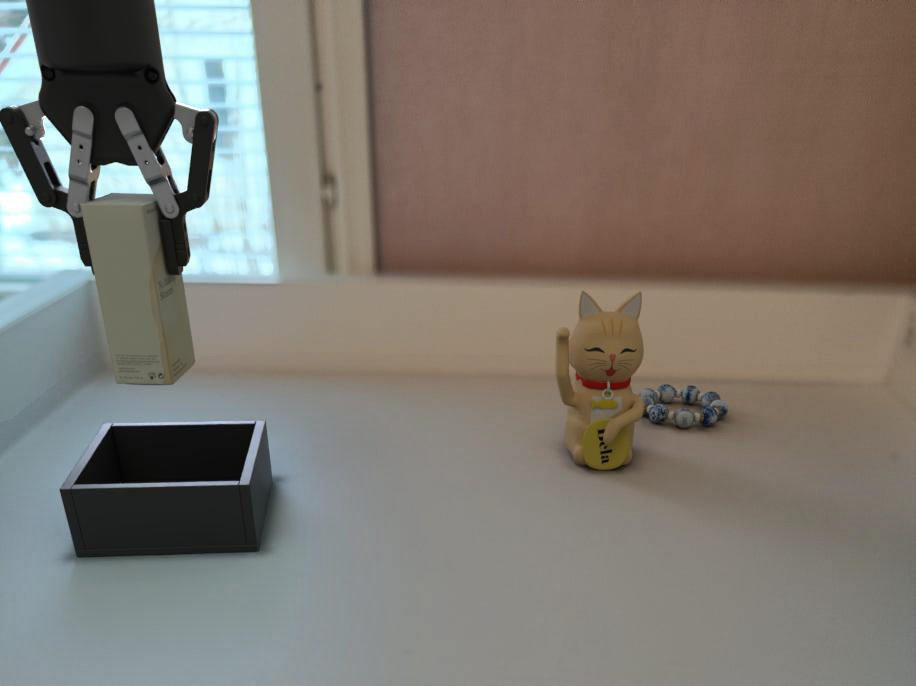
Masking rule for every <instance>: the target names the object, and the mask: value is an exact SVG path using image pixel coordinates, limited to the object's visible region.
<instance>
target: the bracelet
mask: <svg viewBox="0 0 916 686" xmlns="http://www.w3.org/2000/svg"><path fill="white" fill-rule="evenodd" d="M638 395H639V396H641V397H642V399H643V400H644V412H643V416H647V415H648V417H649V420H650V421H651V422H653V423H655V424H662V423H665V422H666V421H667V420H668V421H671V422H672V421H674V423H675V425H676V426H677V427H678V428H681V429H687V428H689V427H691V425H692V424H693V423H694V422H695V423H699V424H701V425H702V426H703V427H710V426H713V425H714V424H716V422H717V421H718V420H721V419H723V418H725V416H727V414H728V411H729V406H728V404H727V402H726V401H725V400H722V399H721V396H720V394H719V393H717V392H716V391H708V392H705V393H703V392H701V391H700V390H699V388H698V387H697V386H695V385H686V386H684V387H683V388H682V390H681V389H679V388H677V389H676V388H675V387H674V386H673V385H671V384H667V383H663V384H661V385H659V386H658V388H657V389H656V390H654V389H653V388H651V387H646V388H644V389H642V390H641V391H640V392H639V394H638ZM675 398H676V399H679V398H681V400H682V402H684V403H685V404H688V405H693V404H695V403H697V402H700V403H701V406H702V408H701V409H700V410H699V411H698V412H693V410H691V409H690V408H688V407H682V408H680V409H678V410H676V411H673V410H671V411H670V409H669V408H668V407H667V406H666V405H665V404H667V403H670V402H672V401H673V400H674V399H675ZM657 400H658V401H659V402H661V403H657ZM662 403H663V404H662ZM664 403H665V404H664Z"/></svg>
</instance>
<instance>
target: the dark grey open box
mask: <svg viewBox="0 0 916 686" xmlns="http://www.w3.org/2000/svg"><path fill="white" fill-rule="evenodd" d="M272 486H273V471H272V462H271V453H270V445H269V436H268V428H267V421H266V420H226V421H225V420H224V421H223V420H222V421H218V420H217V421H216V420H215V421H163V422H162V421H161V422H157V421H156V422H114V423H112V422H103V424H102V425H101V427H99V429H98V431H97V433H95V436H94V437H93V438H92V439H91V441H90V443H89V444H88V446H87V447H86V449H85V450H84V452H83V453H82V455H81V456H80V458H79V460H78V461H77V462H76V464H75V465H74V466H73V468H72V470H71V471H70V472H69V474H68V475H67V477H66V479H65V480H64V482H62V484H61V486H60V488H59V493H60V497H61V501H62V505H63V509H64V513H65V517H66V521H67V525H68V529H69V533H70V537H71V541H72V545H73V548H74V553H75V556H76V558H85V557H116V556H117V557H118V556H119V557H120V556H147V555H148V556H149V555H151V556H152V555H154V556H155V555H179V554H180V555H182V554H183V555H184V554H186V555H187V554H213V553H216V554H218V553H244V552H246V553H247V552H249V553H250V552H259V549H260V543H261V538H262V533H263V530H264V529H263V528H264V524H265V518H266V514H267V510H268V504H269V499H270V495H271V489H272Z"/></svg>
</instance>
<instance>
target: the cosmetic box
mask: <svg viewBox="0 0 916 686" xmlns="http://www.w3.org/2000/svg"><path fill="white" fill-rule="evenodd" d="M80 205H81V210H82V215H83V220H84V226H85V230H86V235H87V240H88V245H89V250H90V255H91V260H92V265H93V270H94V275H93V276H94V280H95V284H96V289H97V294H98V299H99V304H100V309H101V314H102V319H103V320H102V321H103V325H104V330H105V335H106V339H107V344H108V350H109V355H110V360H111V365H112V370H113V374H114V379H115V383H116V384H118V385H122V384H123V385H130V386H131V385H132V386H134V385H135V386H173V385H174V384H175V383H177V381H179V380H180V379H181V378H182V377H183V376H184V375H185V374H186V373H187V372H188V371H189V370H190V369H191V368H192V367H193V366H195V363H196V355H195V350H194V349H195V348H194V343H193V336H192V329H191V323H190V316H189V309H188V304H187V303H188V302H187V297H186V290H185V285H184V284H185V283H184V277H183V272H182V273H181V275H169V272H168V266H167V260H166V254H165V247H164V241H163V235H162V229H161V222H160V219H162V218H163V217H164V216H163V213H162V211H161V209H160V207H159V205H158V203H157V201H156V199H155V196H154V194H153V193H133V192H132V193H131V192H125V193H124V192H110V193H108V194H105V195H103V196H99V197H95V199H93V200H91V201H88V202H86V203H83V204H80Z"/></svg>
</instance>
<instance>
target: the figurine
mask: <svg viewBox="0 0 916 686" xmlns="http://www.w3.org/2000/svg"><path fill="white" fill-rule="evenodd" d="M642 300H643V293H642V291H641V290H639V291H638V292H635V293H633V294H631V295H630V296H628V297H627V298H625V300H624V301H622V302H621V303H619V305H618V306H617V307H616V308H615V310H614V311H605V310H604V311H603V309H602V308H601V306H600V305H599V304H598V303H597V301H596V300H595V299H594V298H593V297H592V296H591V295H590V294H589V293H587V292H586V291H585V290H581V291H580V296H579V303H578V319H579V320H578V321H577V323H576V324H575V326H574V328H573V330H572V332H570V330H569V329H568V328H567V327H565V326H560V327H558V328H557V330H556V333H555V362H554V364H555V365H554V369H555V370H554V373H555V379H556V384H557V388H558V392H559V396H560V400H561V402H562V404H563V405H565V406H567V409H566V419H565V423H564V424H565V425H564V443H565V447H566V449H567V450H568V451H569V452H570V454H571V455H572V457H573V461H574V463H576V464H577V465H581V466H587V467H590V468H591V469H594V470H598V471H610V470H614V469H617V468H619V467H620V466H625V465H629V464H630V463H631V461H632V460H633V442H634V434H635V427H636V426H635V425H636V423H638V422H639V421H640V420H641V419H642V418H643V416H644V415H643V412H644V400H643V399H642V397H641V396H639V394H636V393H634V392H633V388H632V386H631V382H632V376H634V374H636V372H637V371H638V369H639V368H640V366H641V365H642V362H643V359H644V354H645V353H644V352H645V351H644V350H645V348H644V340H643V336H642V332H641V327H640V324H639V318H640V314H641V310H642ZM570 366H571V368H573V370H574V371H575V374H574V375H575V376H574V377H575V379H574V381H573V383H572V381H571V377H570Z"/></svg>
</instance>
